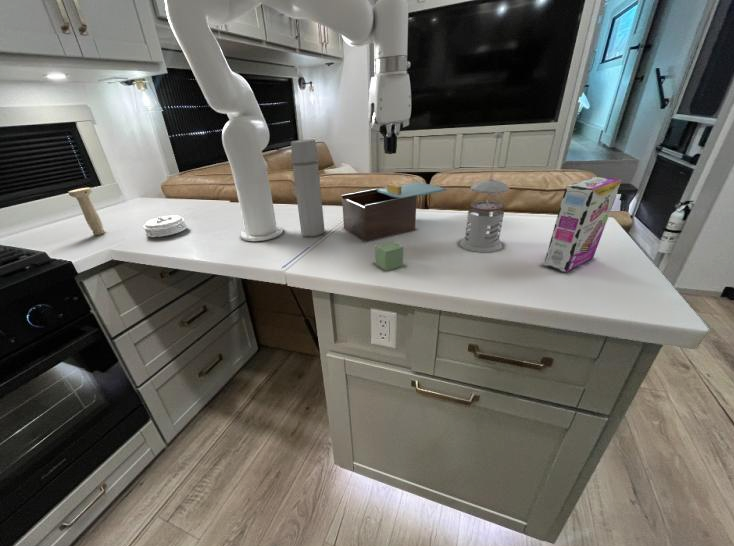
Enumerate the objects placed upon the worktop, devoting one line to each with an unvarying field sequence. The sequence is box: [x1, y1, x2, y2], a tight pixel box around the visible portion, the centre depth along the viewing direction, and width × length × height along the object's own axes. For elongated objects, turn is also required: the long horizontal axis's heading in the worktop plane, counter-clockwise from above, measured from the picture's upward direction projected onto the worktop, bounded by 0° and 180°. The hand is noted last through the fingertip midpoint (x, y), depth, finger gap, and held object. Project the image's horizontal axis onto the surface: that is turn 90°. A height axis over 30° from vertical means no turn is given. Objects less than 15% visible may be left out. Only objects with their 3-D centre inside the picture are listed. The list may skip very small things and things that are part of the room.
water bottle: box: [290, 138, 326, 238], centre depth 92 cm, size 9×8×25 cm
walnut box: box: [341, 186, 418, 242], centre depth 95 cm, size 14×16×10 cm
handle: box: [67, 187, 105, 236], centre depth 111 cm, size 5×6×15 cm
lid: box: [142, 214, 188, 238], centre depth 108 cm, size 13×13×5 cm
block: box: [374, 240, 404, 272], centre depth 74 cm, size 5×5×5 cm
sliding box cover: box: [377, 181, 447, 199], centre depth 95 cm, size 13×15×3 cm
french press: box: [459, 131, 510, 253], centre depth 76 cm, size 10×12×25 cm
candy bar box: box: [543, 176, 623, 273], centre depth 65 cm, size 11×5×16 cm, turn 123°
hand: (390, 153), depth 86 cm, fingers closed
